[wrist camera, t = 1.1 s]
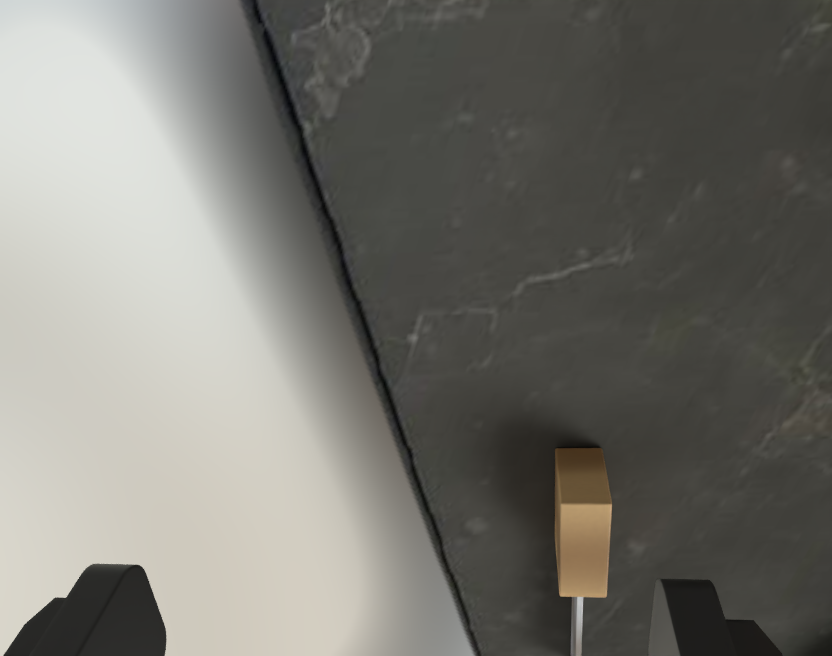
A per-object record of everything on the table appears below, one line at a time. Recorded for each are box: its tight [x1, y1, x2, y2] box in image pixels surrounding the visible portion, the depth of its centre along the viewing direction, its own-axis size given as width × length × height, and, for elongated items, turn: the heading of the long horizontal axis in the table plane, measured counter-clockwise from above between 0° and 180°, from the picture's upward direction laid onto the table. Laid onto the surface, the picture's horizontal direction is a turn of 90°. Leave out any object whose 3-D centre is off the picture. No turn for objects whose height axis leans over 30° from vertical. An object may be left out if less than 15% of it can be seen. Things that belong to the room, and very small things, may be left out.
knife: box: [555, 448, 612, 656], centre depth 37 cm, size 16×2×4 cm, turn 5°
